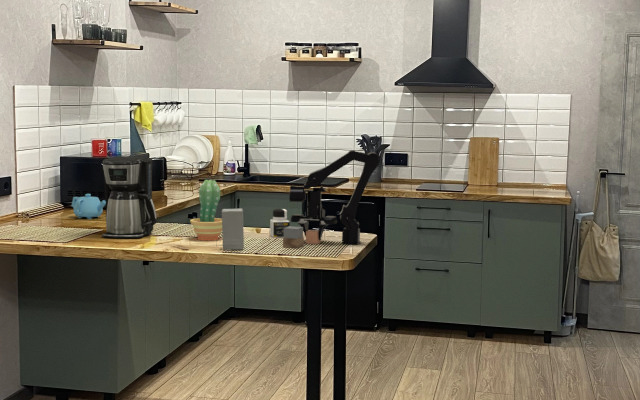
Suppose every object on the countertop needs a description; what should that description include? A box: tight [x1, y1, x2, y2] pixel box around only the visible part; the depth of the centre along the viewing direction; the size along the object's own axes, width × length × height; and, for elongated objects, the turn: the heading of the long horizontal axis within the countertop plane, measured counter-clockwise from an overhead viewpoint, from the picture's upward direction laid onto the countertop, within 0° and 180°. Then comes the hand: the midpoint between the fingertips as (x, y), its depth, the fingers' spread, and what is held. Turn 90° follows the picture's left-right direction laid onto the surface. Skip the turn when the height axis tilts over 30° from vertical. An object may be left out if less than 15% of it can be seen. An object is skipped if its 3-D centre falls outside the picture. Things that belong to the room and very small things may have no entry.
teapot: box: [71, 193, 106, 220], centre depth 426 cm, size 20×17×12 cm
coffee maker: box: [101, 155, 158, 239], centre depth 375 cm, size 23×32×34 cm
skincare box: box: [221, 208, 245, 251], centre depth 342 cm, size 8×7×16 cm
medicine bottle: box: [269, 208, 291, 239], centre depth 376 cm, size 7×7×12 cm
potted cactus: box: [190, 179, 222, 241], centre depth 365 cm, size 15×15×25 cm
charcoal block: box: [284, 225, 304, 239], centre depth 349 cm, size 6×6×4 cm
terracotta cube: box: [305, 229, 322, 245], centre depth 361 cm, size 5×5×5 cm
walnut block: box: [282, 236, 305, 249], centre depth 350 cm, size 6×6×4 cm
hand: (313, 239), depth 361 cm, fingers closed on terracotta cube, 5 cm apart
